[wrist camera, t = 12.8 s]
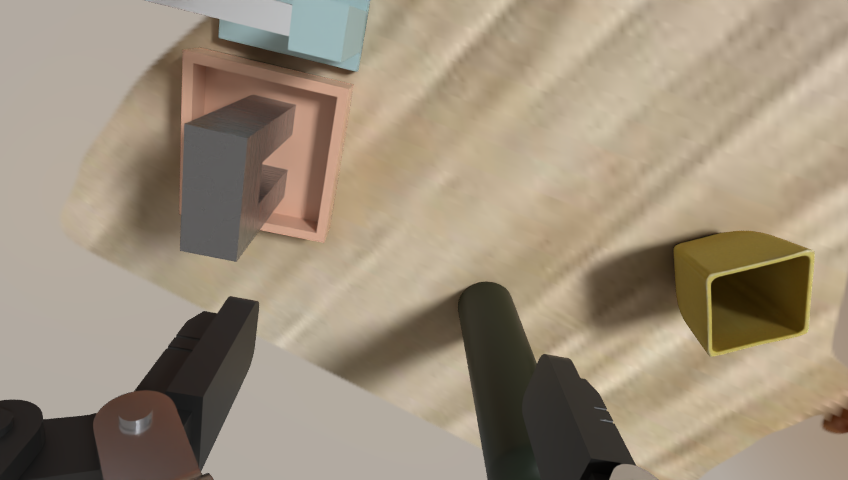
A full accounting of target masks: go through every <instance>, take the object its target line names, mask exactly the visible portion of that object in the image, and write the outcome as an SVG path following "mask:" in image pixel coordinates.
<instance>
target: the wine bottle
mask: <svg viewBox="0 0 848 480" xmlns="http://www.w3.org/2000/svg"><path fill="white" fill-rule="evenodd" d="M458 312H459V318H460V324H461V329H462V335H463V341H464V347H465V352H466V358H467V364H468V369H469V375H470V381H471V387H472V392H473V398H474V404H475V410H476V415H477V421H478V427H479V433H480V438H481V444H482V450H483V456H484V460H485V467H486V473H487V478H488V480H541V477H540V474H539V470H538V467H537V463H536V460H535V456H534V453H533V449H532V446H531V443H530V439H529V436H528V432H527V429H526V425H525V422H524V418H523V414H522V403H523V397H524V394H525V391H526V389H527V386H528V384H529V382H530V379H531V377H532V375H533V372H534V370H535V368H536V365H537V363H536V360H535V358H534V355H533V353H532V350H531V347H530V345H529V342H528V339H527V337H526V334H525V332H524V329H523V326H522V324H521V321H520V318H519V316H518V313H517V310H516V308H515V305H514V303H513V300H512V297H511V295H510V293H509V292H508V290H507V289H506V288H504V287H503V286H501V285H499V284H497V283H493V282H481V283H477V284H474V285H472V286H471V287H469V288H468V289H466V290H465V291H464V292H463V294H462V295H461V297H460V299H459V302H458Z"/></svg>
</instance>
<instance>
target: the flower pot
mask: <svg viewBox="0 0 848 480" xmlns="http://www.w3.org/2000/svg"><path fill="white" fill-rule="evenodd" d="M814 254H815V253H814V251H813V250H811V249H808V248H805V247H802V246H800V245H797V244H794V243H791V242H789V241H786V240H783V239H780V238H778V237H775V236H772V235H769V234H765V233H761V232H754V231H733V232H725V233H719V234H715V235H711V236H707V237H704V238H700V239H696V240H692V241H688V242H684V243H680V244H678V245H676V246H675V247H674V266H675V285H676V296H677V302H678V306H679V309H680V312H681V314H682V317H683V319H684V321H685V322H686V324H687V325H688V327H689V328H690V330H691V331H692V332H693V334H694V335H695V337H696V338H697V340H698V341H699V342H700V344H701V345H702V347H703V348H704V349H705V351H706V352H707V354H708V355H709V356H711V357H713V356H718V355H723V354H727V353H731V352H734V351H738V350H742V349H745V348H749V347H753V346H757V345H761V344H766V343H770V342H776V341H780V340H785V339H789V338H794V337H798V336H801V335H804V334H806V333H807V332H808V329H809V318H810V303H811V292H812V280H813V272H814V257H815V256H814Z"/></svg>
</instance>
